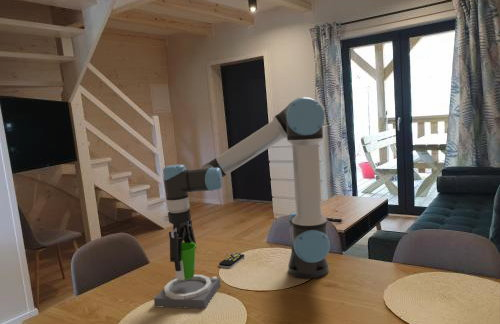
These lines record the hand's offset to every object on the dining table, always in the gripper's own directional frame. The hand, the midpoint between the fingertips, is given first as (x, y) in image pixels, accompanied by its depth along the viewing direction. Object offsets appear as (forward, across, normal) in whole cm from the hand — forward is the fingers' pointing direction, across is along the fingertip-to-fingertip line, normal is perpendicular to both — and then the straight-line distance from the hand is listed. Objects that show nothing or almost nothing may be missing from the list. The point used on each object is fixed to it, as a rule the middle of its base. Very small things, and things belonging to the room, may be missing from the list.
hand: (186, 272), depth 128 cm
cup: (+2, 0, 0) cm, 2 cm away
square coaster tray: (+9, 0, 0) cm, 9 cm away
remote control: (+9, -30, +7) cm, 32 cm away
